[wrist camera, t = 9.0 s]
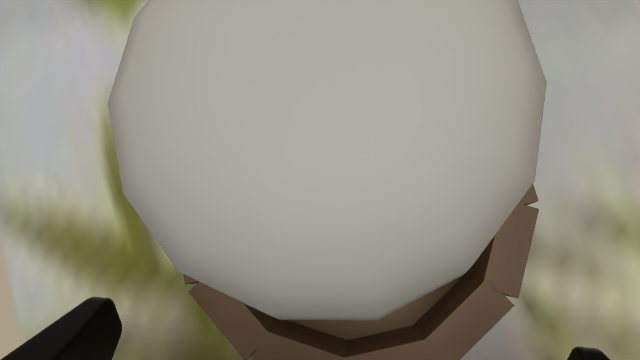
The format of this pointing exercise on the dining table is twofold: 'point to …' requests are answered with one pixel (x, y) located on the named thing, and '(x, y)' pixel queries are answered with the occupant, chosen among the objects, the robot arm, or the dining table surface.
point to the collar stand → (399, 326)
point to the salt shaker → (327, 144)
